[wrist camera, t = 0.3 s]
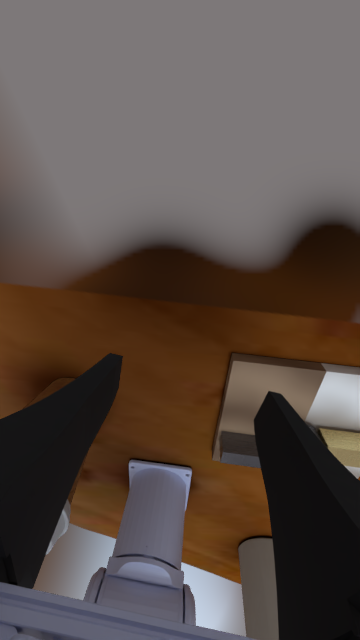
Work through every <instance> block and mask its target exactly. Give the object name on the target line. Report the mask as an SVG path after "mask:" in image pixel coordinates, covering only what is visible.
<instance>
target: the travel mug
mask: <svg viewBox="0 0 360 640" xmlns="http://www.w3.org/2000/svg"><path fill="white" fill-rule="evenodd" d="M238 551H239V562H240V572H241V583H242V594H243V605H244V615H245V626H246V637H249V638H253V639H257V640H279V629H278V608H277V589H276V575H275V562H274V550H273V540H272V538H266V537H256V538H251V539H249V540H246V541H245V542H243V543H242V544H241V545H240V546H239V548H238Z"/></svg>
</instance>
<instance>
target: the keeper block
mask: <svg viewBox="0 0 360 640" xmlns="http://www.w3.org/2000/svg"><path fill="white" fill-rule="evenodd" d="M219 446H220V462H221V463H228V464H235V465H242V466H250V467H257V468H261V466H260V461H259V456H258V451H257V447H256V442H255V435H250V434H243V433H235V432H227V431H221V435H220V440H219Z"/></svg>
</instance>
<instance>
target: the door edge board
mask: <svg viewBox="0 0 360 640" xmlns="http://www.w3.org/2000/svg"><path fill="white" fill-rule="evenodd" d="M268 391H272V392H276V393H280V394H282V395H283V396H284V398H285V399H286V400H287V401H288V402H289V404H290V405H291V406H292V407H293V408H294V410H295V411H296V412H297V413H298V415H299V416H300V417H301V418H302V419H303V421H304V422H305V423H306V424H308V425H311V426H313V427H315V428H316V430H317V432H318V430H319V428H322V429H329V430H337V431H345V432H353V433H360V367H351V366H343V365H334V364H325V363H316V362H308V361H299V360H290V359H281V358H273V357H264V356H255V355H246V354H238V353H232V356H231V361H230V365H229V370H228V375H227V380H226V385H225V390H224V395H223V399H222V404H221V409H220V414H219V419H218V424H217V429H216V434H215V438H214V443H213V448H212V460H215V461H220V446H219V440H220V435H221V431H227V432H235V433H243V434H250V435H255V432H254V418H255V416H256V414H257V412H258V410H259V408H260V407H261V405H262V403H263V401H264V399H265V397H266V395H267V393H268ZM345 467H346V468H347V469H348V470H349V471H350V472H351V473H352V474H353V475H354V476H355V477H356V478H357V479H358V478H359V476H360V468H357V467H350V466H345Z"/></svg>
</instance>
